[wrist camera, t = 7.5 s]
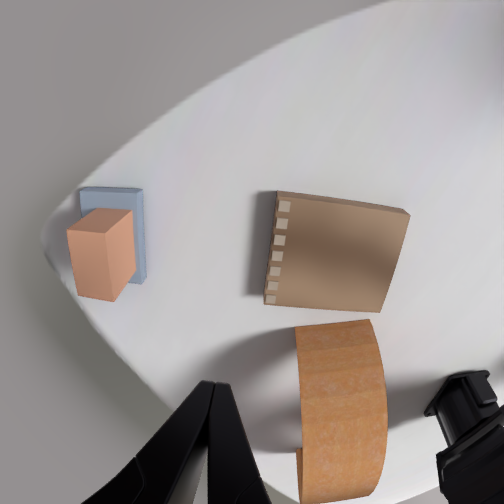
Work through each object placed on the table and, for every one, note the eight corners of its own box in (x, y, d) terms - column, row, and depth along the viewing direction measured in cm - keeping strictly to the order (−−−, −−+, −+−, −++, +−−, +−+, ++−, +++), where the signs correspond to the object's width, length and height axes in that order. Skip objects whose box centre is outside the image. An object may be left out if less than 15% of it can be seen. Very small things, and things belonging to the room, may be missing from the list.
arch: (371, 317, 21) (415, 428, 12) (342, 446, 30) (353, 518, 21) (294, 325, 22) (306, 446, 13) (294, 451, 30) (297, 525, 21)
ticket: (374, 302, 21) (380, 313, 19) (263, 294, 20) (263, 305, 19) (402, 209, 18) (411, 215, 16) (277, 190, 17) (278, 196, 16)
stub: (146, 276, 20) (121, 317, 16) (96, 269, 20) (64, 305, 16) (142, 189, 17) (108, 214, 13) (87, 186, 17) (45, 209, 13)
